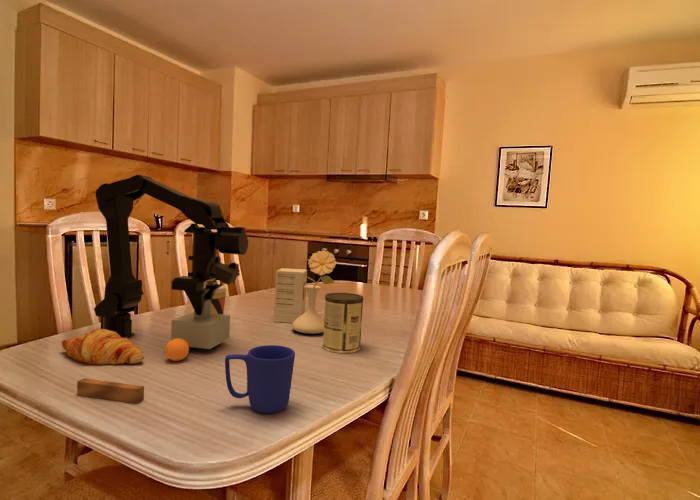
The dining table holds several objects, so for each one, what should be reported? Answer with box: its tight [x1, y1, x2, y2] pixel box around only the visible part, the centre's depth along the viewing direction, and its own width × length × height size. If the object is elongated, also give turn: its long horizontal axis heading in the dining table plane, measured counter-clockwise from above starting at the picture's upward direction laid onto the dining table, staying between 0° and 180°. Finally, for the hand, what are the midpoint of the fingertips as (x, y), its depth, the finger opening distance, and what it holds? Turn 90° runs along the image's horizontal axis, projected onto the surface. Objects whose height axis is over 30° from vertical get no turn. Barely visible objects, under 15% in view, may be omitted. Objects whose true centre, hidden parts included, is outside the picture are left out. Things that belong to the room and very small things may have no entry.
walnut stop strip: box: [76, 377, 145, 404], centre depth 72 cm, size 12×2×2 cm, turn 81°
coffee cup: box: [210, 284, 227, 315], centre depth 123 cm, size 9×9×12 cm
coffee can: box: [322, 292, 364, 354], centre depth 109 cm, size 10×10×14 cm
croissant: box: [61, 328, 145, 365], centre depth 91 cm, size 21×10×8 cm, turn 78°
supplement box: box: [273, 267, 308, 324], centre depth 136 cm, size 10×9×17 cm
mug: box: [224, 344, 296, 414], centre depth 72 cm, size 8×12×10 cm
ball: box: [164, 338, 190, 362], centre depth 92 cm, size 5×5×5 cm
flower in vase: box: [291, 250, 337, 335], centre depth 122 cm, size 13×11×25 cm
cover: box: [170, 299, 231, 350], centre depth 103 cm, size 10×10×10 cm
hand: (202, 313), depth 103 cm, fingers closed on cover, 3 cm apart
